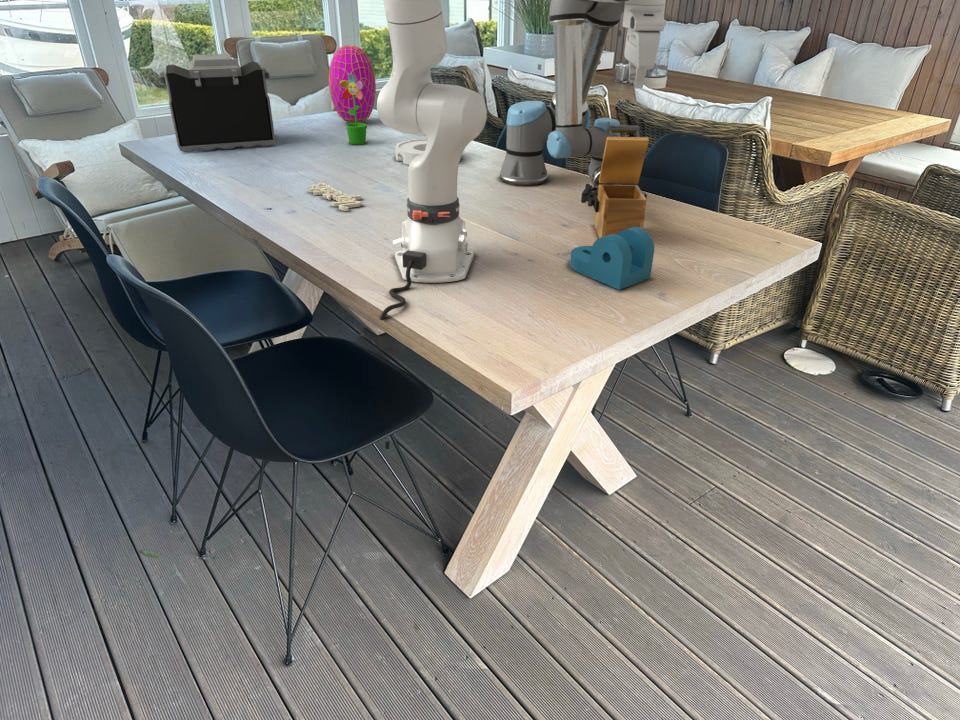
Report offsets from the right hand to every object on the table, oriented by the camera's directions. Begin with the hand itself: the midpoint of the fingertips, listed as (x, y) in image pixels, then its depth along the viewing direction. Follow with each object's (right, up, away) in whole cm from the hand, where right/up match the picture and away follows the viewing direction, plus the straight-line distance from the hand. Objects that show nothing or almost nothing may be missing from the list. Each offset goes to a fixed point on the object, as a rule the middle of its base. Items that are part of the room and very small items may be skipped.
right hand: (618, 207), depth 178 cm
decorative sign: (-78, +9, +25) cm, 83 cm away
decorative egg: (-89, +62, +116) cm, 158 cm away
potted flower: (-82, +43, +84) cm, 125 cm away
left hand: (0, +24, -19) cm, 31 cm away
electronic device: (-131, +42, +81) cm, 160 cm away
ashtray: (-54, +32, +66) cm, 91 cm away
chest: (0, -7, +1) cm, 7 cm away
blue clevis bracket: (-7, -19, -20) cm, 29 cm away
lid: (0, +10, -5) cm, 11 cm away
